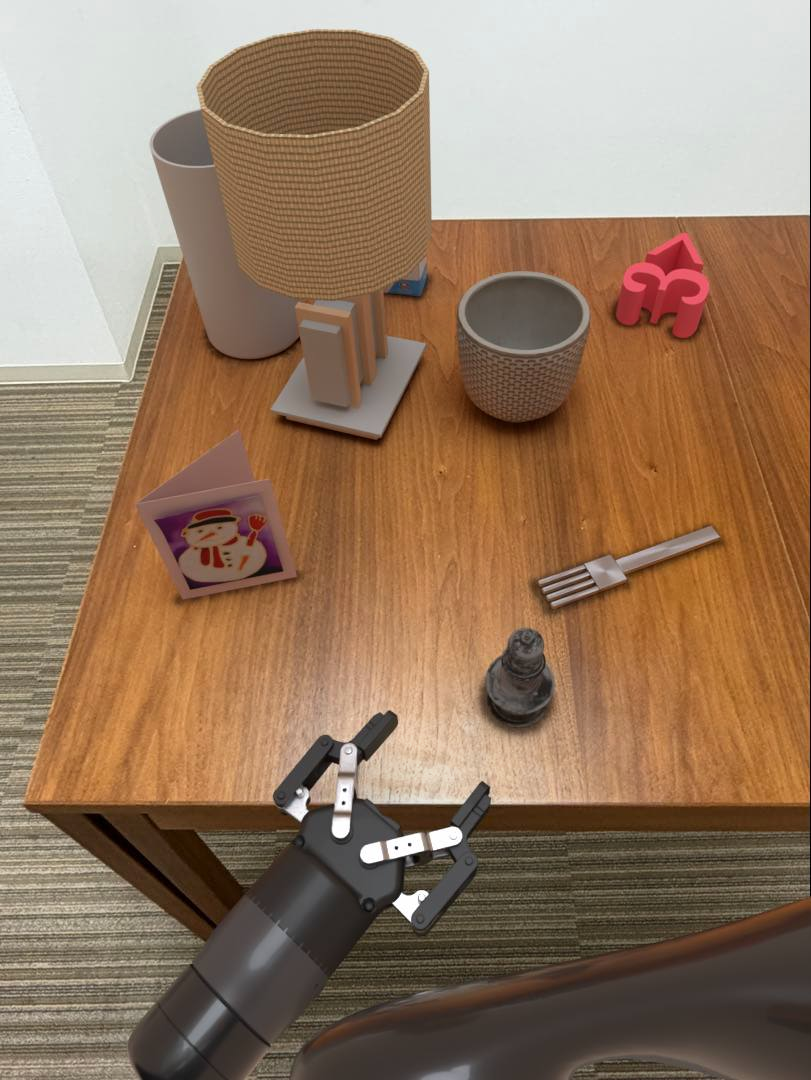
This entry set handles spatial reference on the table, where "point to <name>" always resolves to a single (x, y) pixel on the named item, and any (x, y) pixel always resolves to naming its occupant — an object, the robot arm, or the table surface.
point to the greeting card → (218, 524)
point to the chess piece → (520, 680)
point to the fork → (619, 568)
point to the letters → (666, 286)
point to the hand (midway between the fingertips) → (438, 750)
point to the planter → (521, 343)
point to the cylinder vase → (216, 247)
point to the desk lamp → (328, 204)
